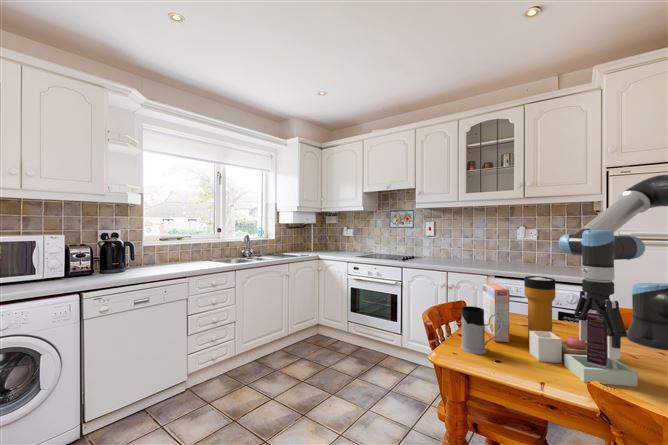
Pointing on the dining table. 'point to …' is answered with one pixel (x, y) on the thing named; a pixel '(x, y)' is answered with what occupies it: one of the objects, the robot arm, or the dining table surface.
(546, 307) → the flashlight
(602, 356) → the supplement box
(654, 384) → the dining table surface
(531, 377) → the dining table surface
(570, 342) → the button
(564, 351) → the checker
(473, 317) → the glass holder
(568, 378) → the dining table surface
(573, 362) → the trough
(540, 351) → the open box
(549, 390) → the dining table surface
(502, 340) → the cracker box
